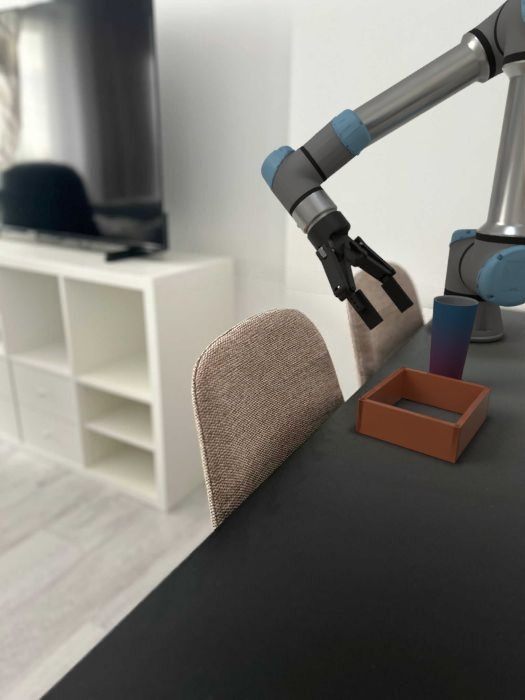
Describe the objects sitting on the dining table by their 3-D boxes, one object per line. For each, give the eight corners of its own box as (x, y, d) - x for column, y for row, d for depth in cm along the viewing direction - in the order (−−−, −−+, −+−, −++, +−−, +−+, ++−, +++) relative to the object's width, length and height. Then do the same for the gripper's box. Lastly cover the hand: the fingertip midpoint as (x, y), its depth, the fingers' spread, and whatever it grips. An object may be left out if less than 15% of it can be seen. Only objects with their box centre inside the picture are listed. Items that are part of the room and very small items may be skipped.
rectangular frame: (398, 395, 83) (402, 366, 82) (486, 418, 76) (491, 387, 74) (355, 431, 72) (358, 399, 70) (454, 463, 64) (460, 427, 62)
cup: (468, 383, 88) (481, 298, 83) (460, 397, 83) (474, 307, 78) (428, 375, 91) (439, 293, 86) (418, 388, 86) (429, 301, 81)
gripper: (340, 230, 105) (404, 313, 101) (270, 243, 85) (345, 346, 82) (366, 205, 100) (434, 291, 96) (298, 212, 81) (379, 320, 77)
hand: (393, 316), depth 89 cm, fingers open, 13 cm apart
